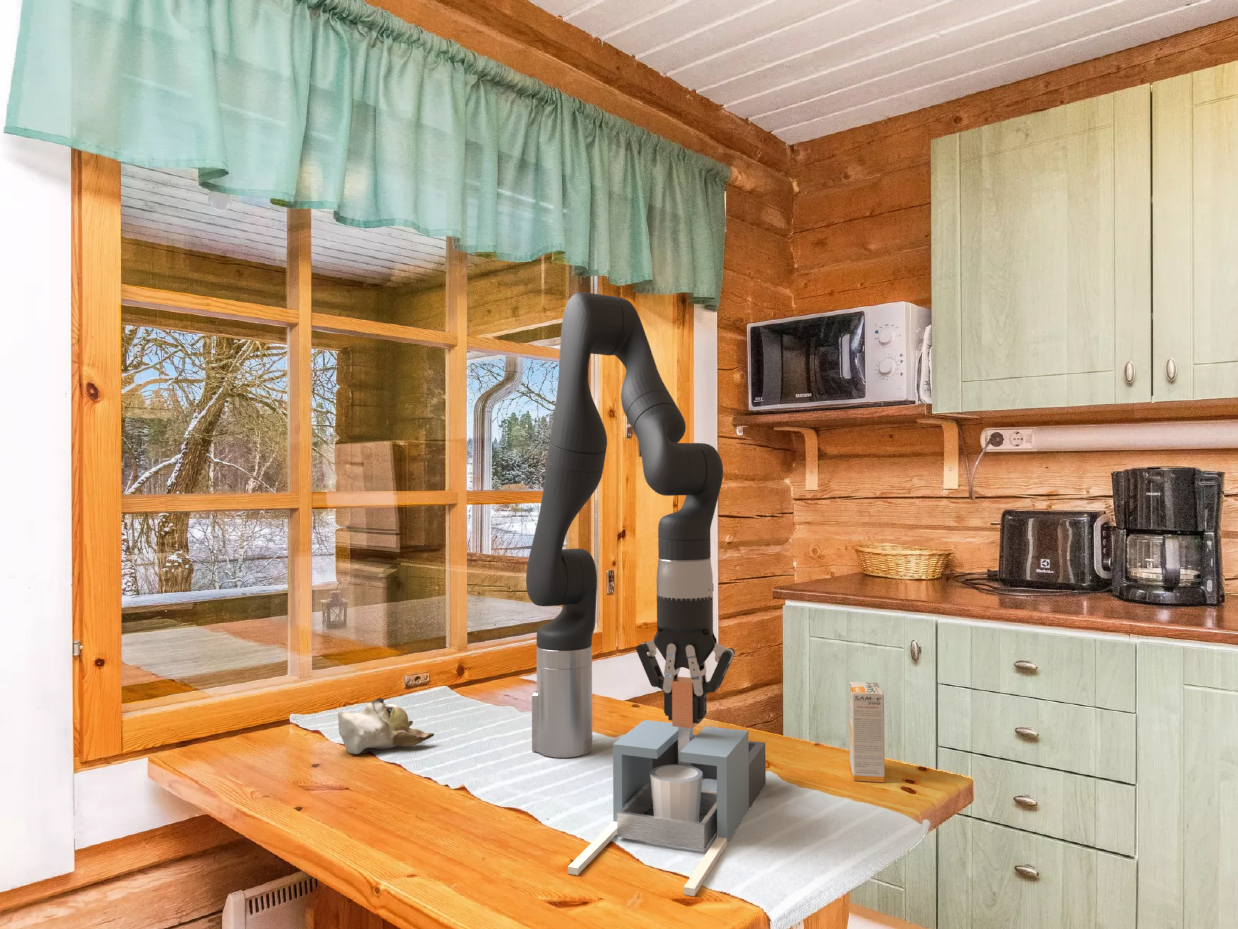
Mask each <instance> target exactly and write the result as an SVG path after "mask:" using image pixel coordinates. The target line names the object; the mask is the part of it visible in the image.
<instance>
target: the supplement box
mask: <svg viewBox="0 0 1238 929" xmlns="http://www.w3.org/2000/svg"><path fill="white" fill-rule="evenodd" d="M848 687H849V688H848V690H849V693H848V694H849V695H848V696H849V697H848V698H849V700H848V701H849V766H850V771H851V775H852V780H854V781H858V782H868V783H869V782H872V783H873V782H874V783H885V781H886V780H885V779H886V778H885V774H886V772H885V771H886V770H885V768H886V767H885V766H886V764H885V760H886V759H885V695H884V691H883V690H882V687H881V684H880V682H875V681H849V686H848Z"/></svg>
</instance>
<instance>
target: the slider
mask: <svg viewBox="0 0 1238 929" xmlns="http://www.w3.org/2000/svg"><path fill="white" fill-rule="evenodd" d="M694 695H695V693H694V687H693V681H692V679H691V677H688V676H687V677H686V676H678V677H677V678H676V679H674V680H673V681H672V721H671V723H672V726H674V727H678V765H687V766H693V763H688V762H680V751H681V750H682V749H683V748H684V747H685V746H686V745H687V744H688V743H689V742H690V741H691V740H692V739H693V735H694V728H695V727H696V726H697V725H698V724H697V723H693V696H694ZM649 809H653V800H652V789H651V784H649V783H647V784H646V785H645V786H644V787H643V788H642V789H641V790H640V791H639V792H638V793H637V794H636V795H635V796H634V797H633V798H632V799H631V800H630V801H629V802H628V803H626V804H625V805H624V806H623V807H622V808H621V809H620V810H619V811H618V812H617V835H616V836H617V838H621V839H629V840H634V841H641V842H648V843H654V844H659V845H665V846H673V847H679V848H685V849H691V850H698V851H705V850H706V849H707V847H708V846H709V844H710V843H711V842H712V840H713V839H714V837H715V836H716V834H717V791H708V790H702V789H701V799H700V811H699V816H700V815H701V816H704V818H703V819H702V821H701V822H699V823H698V822H691V821H684V820H677V819H670V818H664V817H657V816H654V815H649V814H645V813H646V812H647V811H648V810H649Z"/></svg>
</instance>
